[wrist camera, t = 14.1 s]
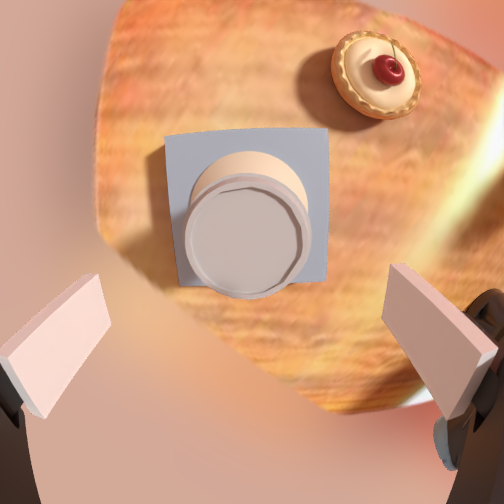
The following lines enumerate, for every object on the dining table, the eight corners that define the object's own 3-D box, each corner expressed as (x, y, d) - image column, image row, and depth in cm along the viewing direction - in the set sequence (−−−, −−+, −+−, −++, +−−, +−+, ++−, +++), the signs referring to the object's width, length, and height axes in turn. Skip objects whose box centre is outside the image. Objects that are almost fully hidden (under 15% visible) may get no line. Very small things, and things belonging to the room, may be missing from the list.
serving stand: (319, 268, 38) (326, 282, 33) (186, 273, 38) (178, 287, 34) (319, 131, 32) (328, 128, 28) (174, 138, 32) (163, 136, 28)
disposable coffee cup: (235, 267, 33) (224, 324, 21) (190, 196, 30) (153, 220, 19) (308, 227, 31) (336, 267, 20) (266, 151, 29) (272, 147, 17)
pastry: (334, 123, 32) (356, 116, 24) (317, 41, 28) (331, 13, 20) (414, 121, 31) (450, 117, 22) (397, 44, 27) (427, 24, 18)
